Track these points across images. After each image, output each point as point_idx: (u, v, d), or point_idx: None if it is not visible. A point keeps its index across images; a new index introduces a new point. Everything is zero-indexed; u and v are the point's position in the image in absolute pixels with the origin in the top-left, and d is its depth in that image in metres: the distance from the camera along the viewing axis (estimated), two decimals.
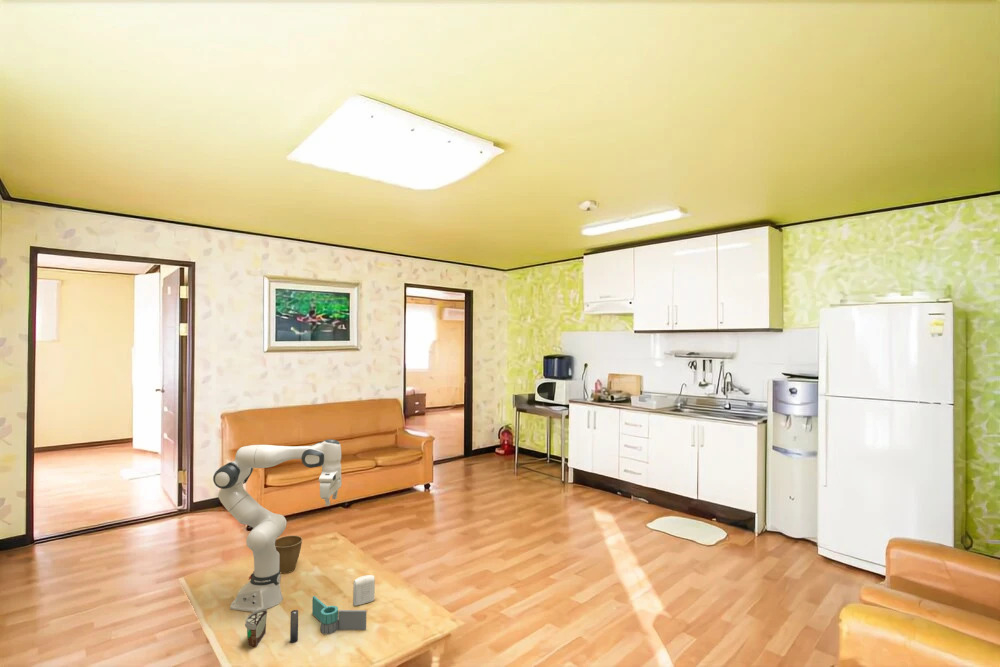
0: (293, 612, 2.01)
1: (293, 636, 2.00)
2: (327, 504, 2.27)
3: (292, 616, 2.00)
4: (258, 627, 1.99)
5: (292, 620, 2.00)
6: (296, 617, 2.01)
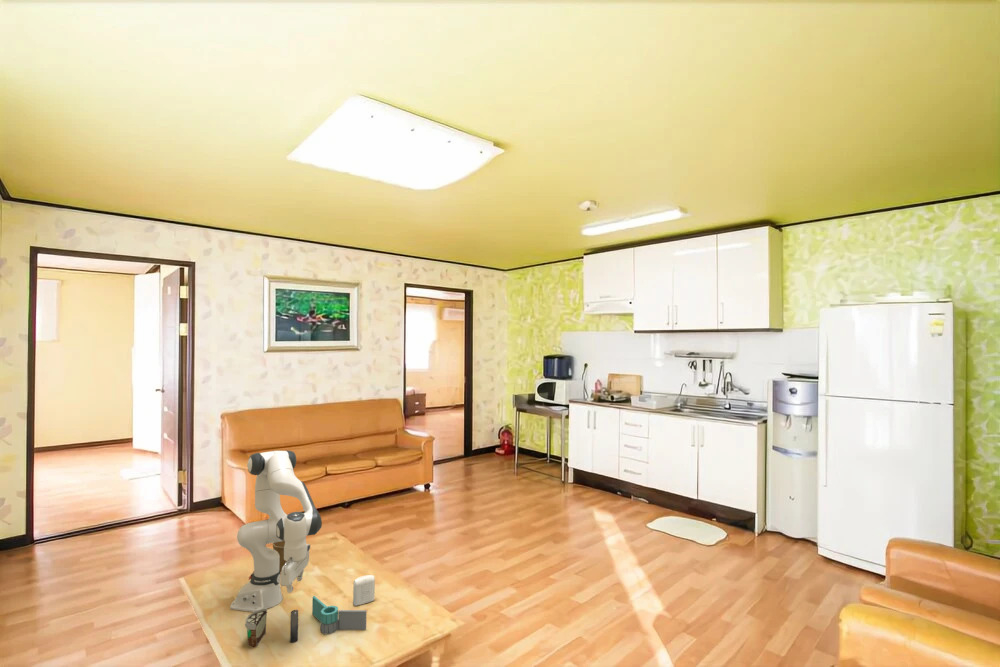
0: (293, 612, 2.01)
1: (293, 636, 2.00)
2: None
3: (292, 616, 2.00)
4: (258, 627, 1.99)
5: (292, 620, 2.00)
6: (296, 617, 2.01)
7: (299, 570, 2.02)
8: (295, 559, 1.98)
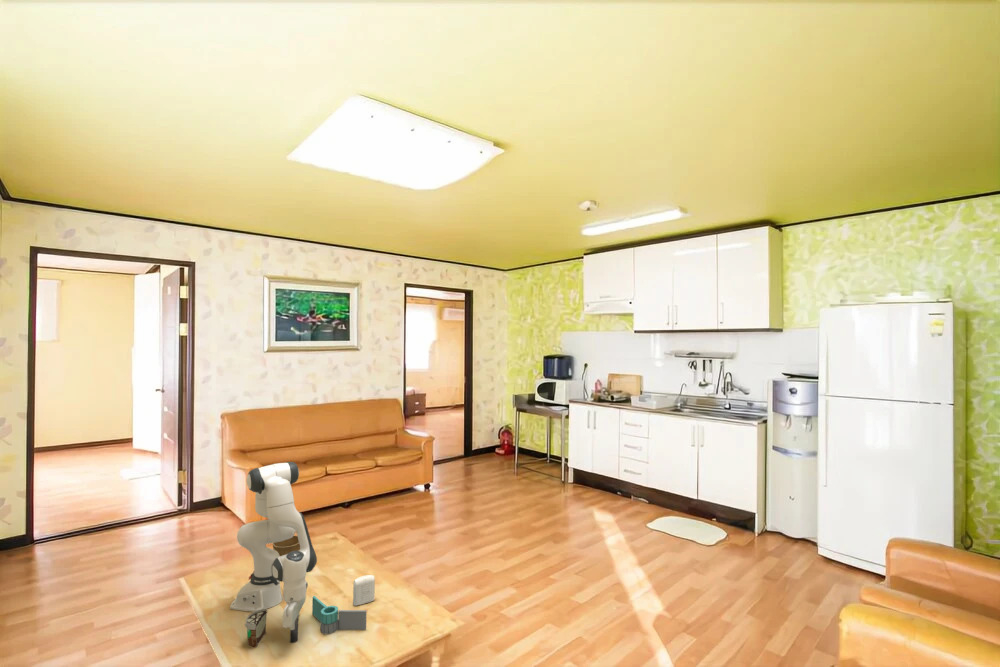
0: None
1: (293, 636, 2.00)
2: None
3: None
4: (258, 627, 1.99)
5: None
6: None
7: (299, 609, 2.02)
8: (296, 599, 1.98)
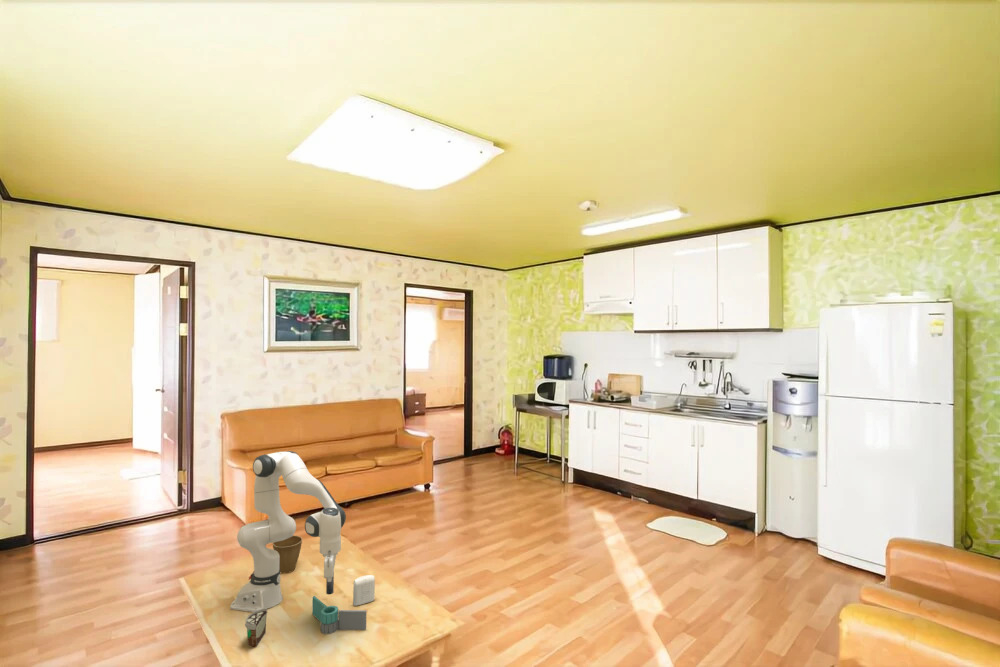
0: None
1: (330, 588, 2.09)
2: None
3: None
4: (258, 627, 1.99)
5: None
6: None
7: (334, 563, 2.11)
8: (333, 552, 2.07)
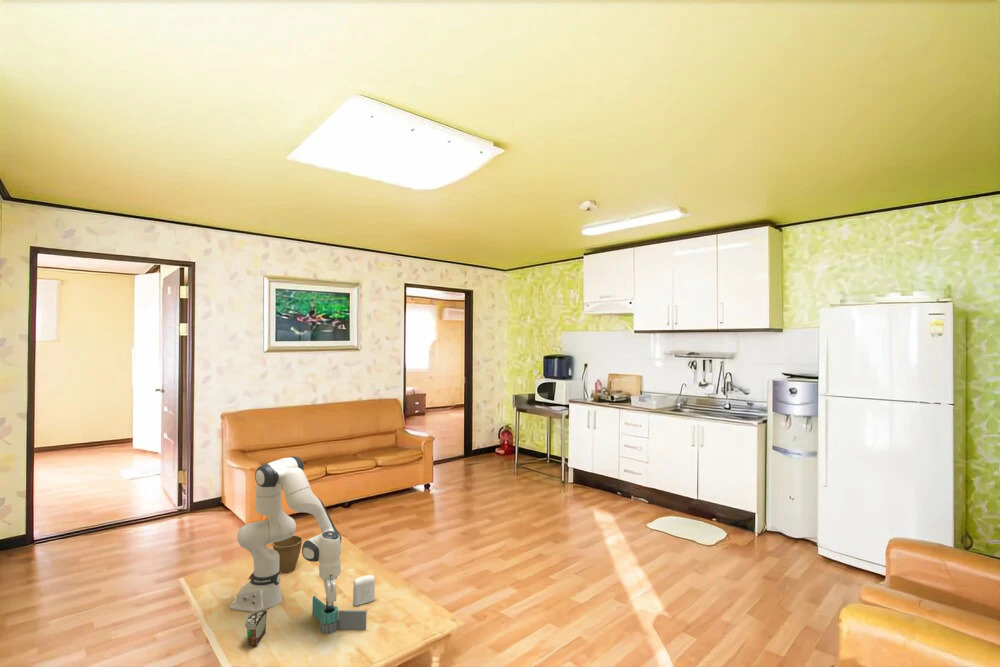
0: None
1: (330, 611, 2.08)
2: None
3: None
4: (258, 627, 1.99)
5: None
6: None
7: None
8: (335, 575, 2.07)
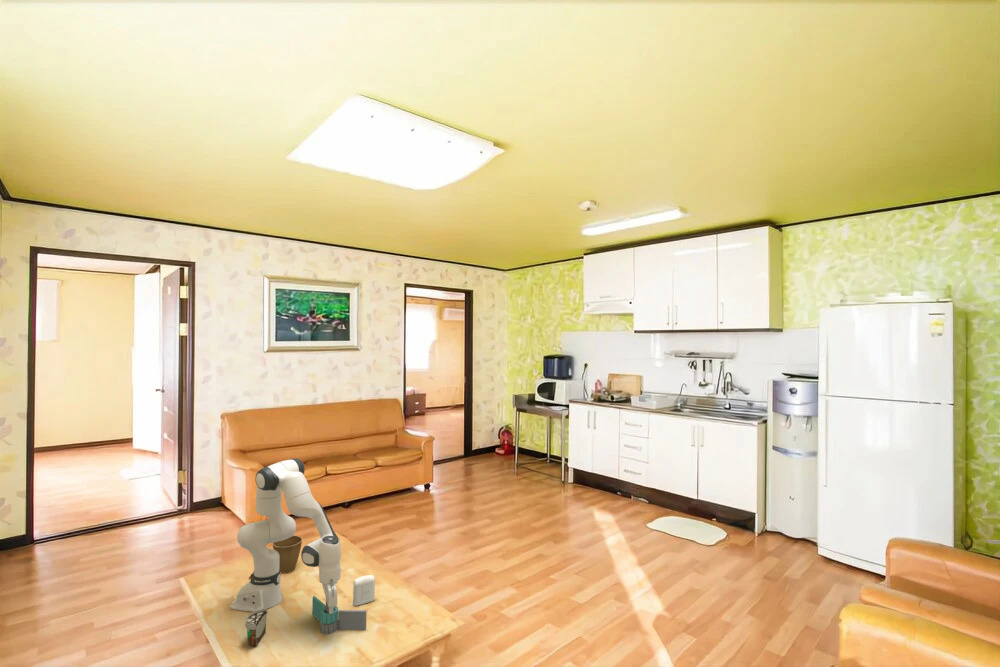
0: None
1: None
2: None
3: None
4: (258, 627, 1.99)
5: None
6: None
7: None
8: (335, 580, 2.07)
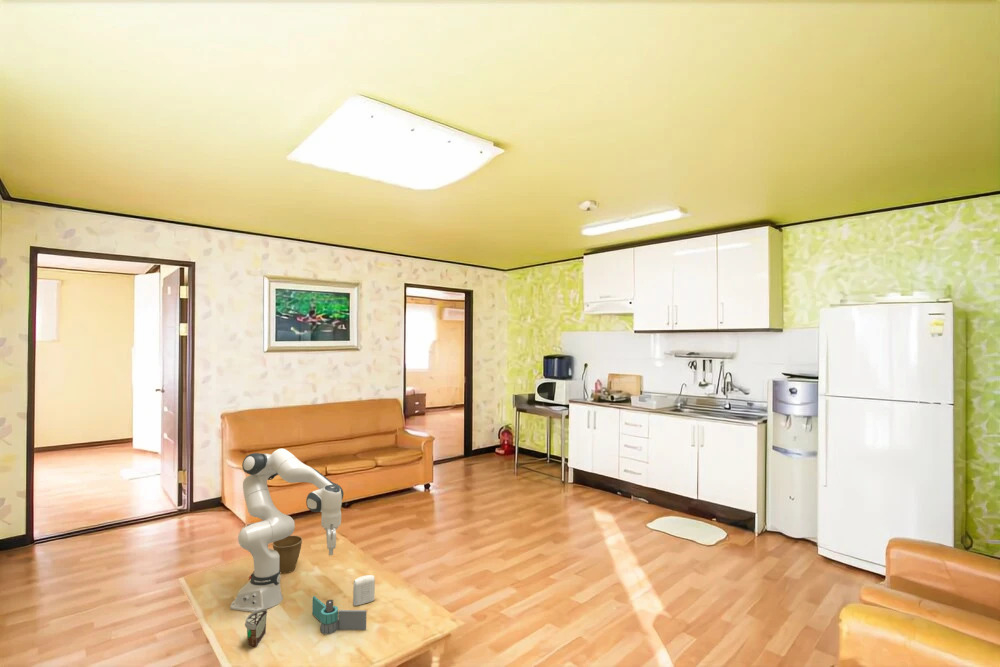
0: (329, 602, 2.09)
1: None
2: None
3: (329, 605, 2.08)
4: (258, 627, 1.99)
5: (329, 609, 2.08)
6: (332, 606, 2.09)
7: None
8: (335, 525, 2.22)
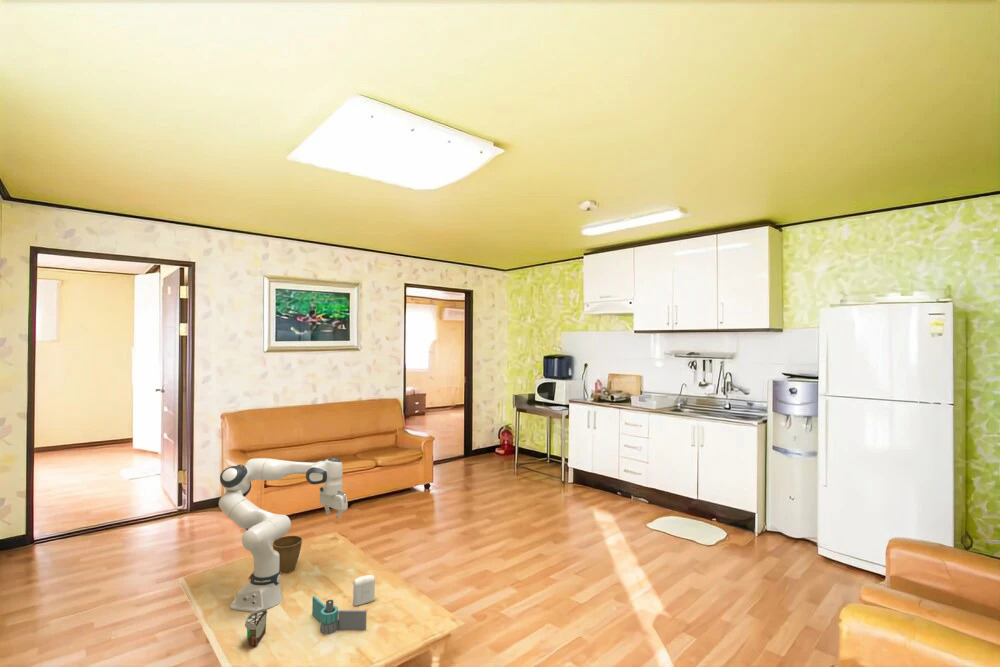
0: (329, 602, 2.09)
1: None
2: None
3: (329, 606, 2.08)
4: (258, 627, 1.99)
5: (329, 609, 2.08)
6: (332, 606, 2.09)
7: None
8: (341, 491, 2.51)
